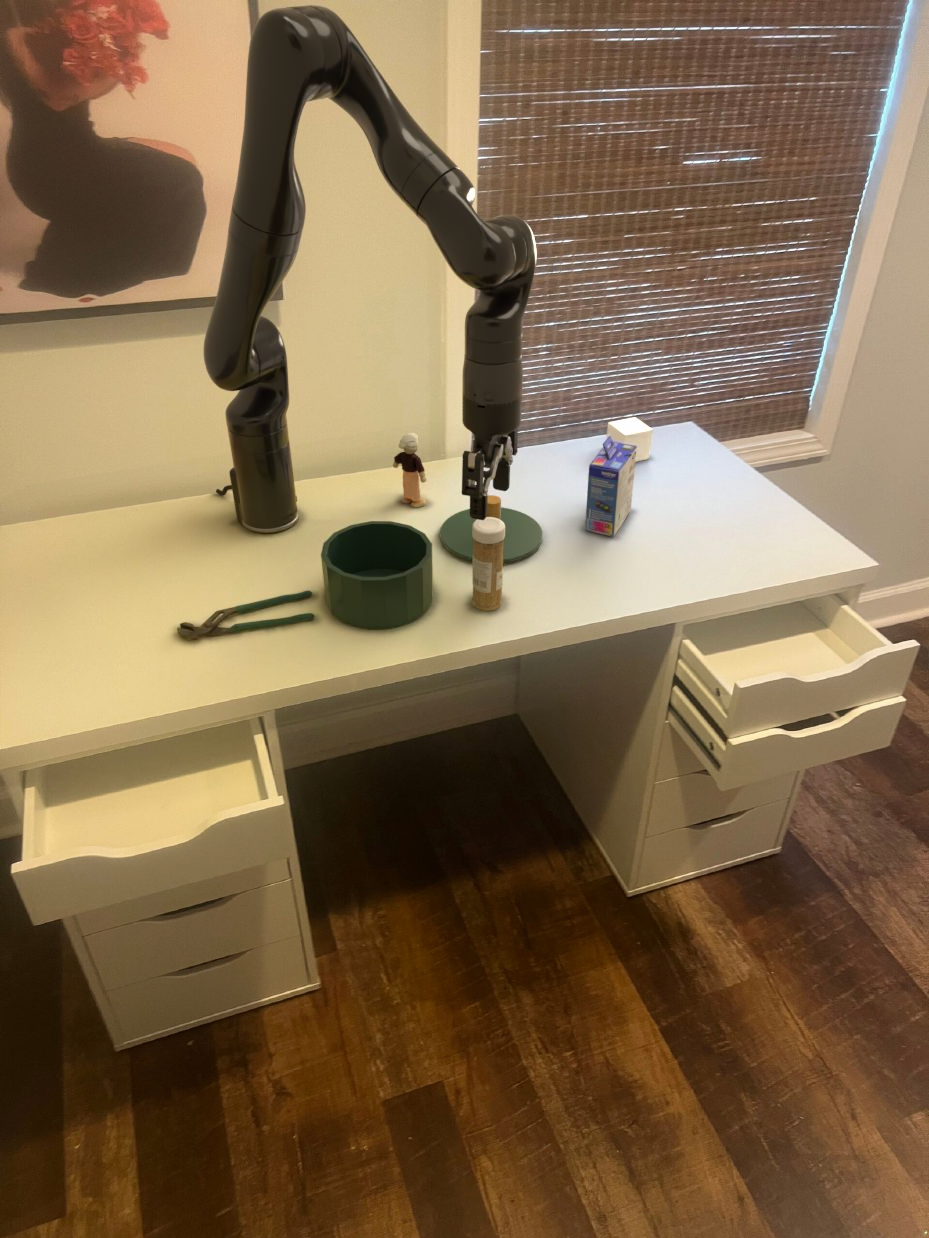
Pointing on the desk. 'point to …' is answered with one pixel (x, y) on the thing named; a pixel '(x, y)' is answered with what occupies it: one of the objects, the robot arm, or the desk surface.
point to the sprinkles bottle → (487, 563)
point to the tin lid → (519, 532)
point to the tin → (378, 574)
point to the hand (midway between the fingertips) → (489, 503)
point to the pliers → (212, 628)
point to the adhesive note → (632, 435)
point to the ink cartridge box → (610, 487)
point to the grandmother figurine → (411, 470)
